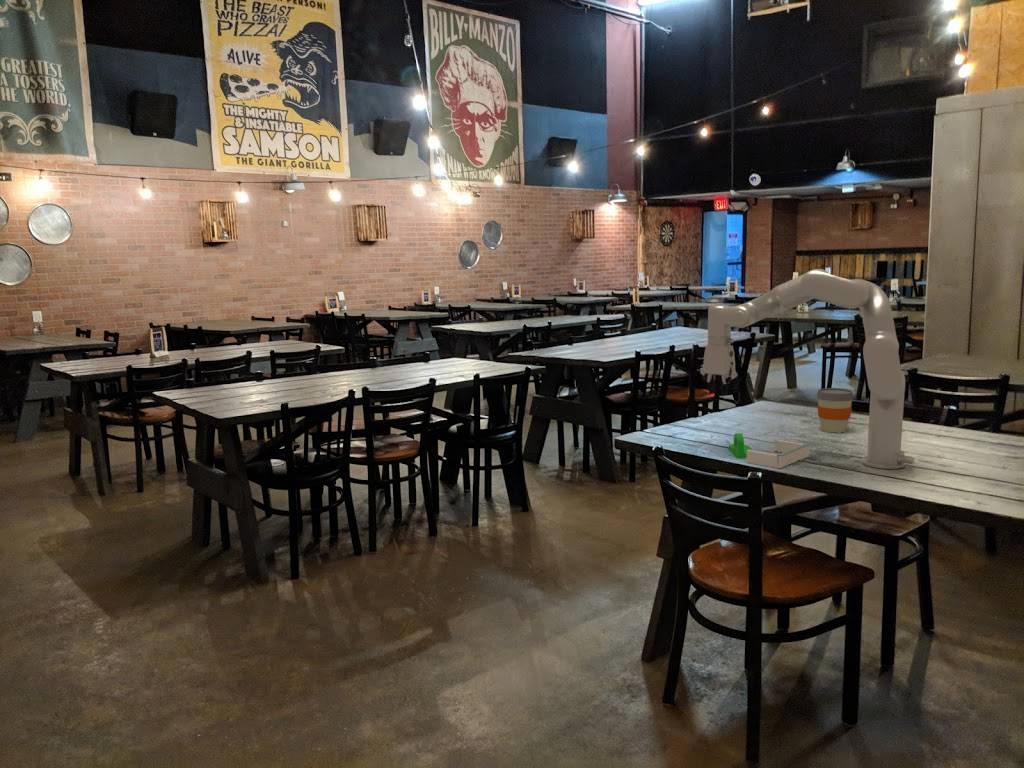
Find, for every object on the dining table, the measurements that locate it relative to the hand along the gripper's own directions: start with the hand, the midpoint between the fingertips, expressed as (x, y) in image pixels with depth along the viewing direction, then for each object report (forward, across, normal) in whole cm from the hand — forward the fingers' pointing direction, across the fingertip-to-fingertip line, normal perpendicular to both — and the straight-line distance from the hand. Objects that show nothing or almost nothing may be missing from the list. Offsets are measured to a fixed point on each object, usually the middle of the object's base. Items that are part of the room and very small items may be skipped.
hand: (718, 393), depth 271 cm
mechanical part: (+20, -10, +1) cm, 22 cm away
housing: (+19, -22, 0) cm, 30 cm away
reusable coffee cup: (+20, -18, -51) cm, 57 cm away
